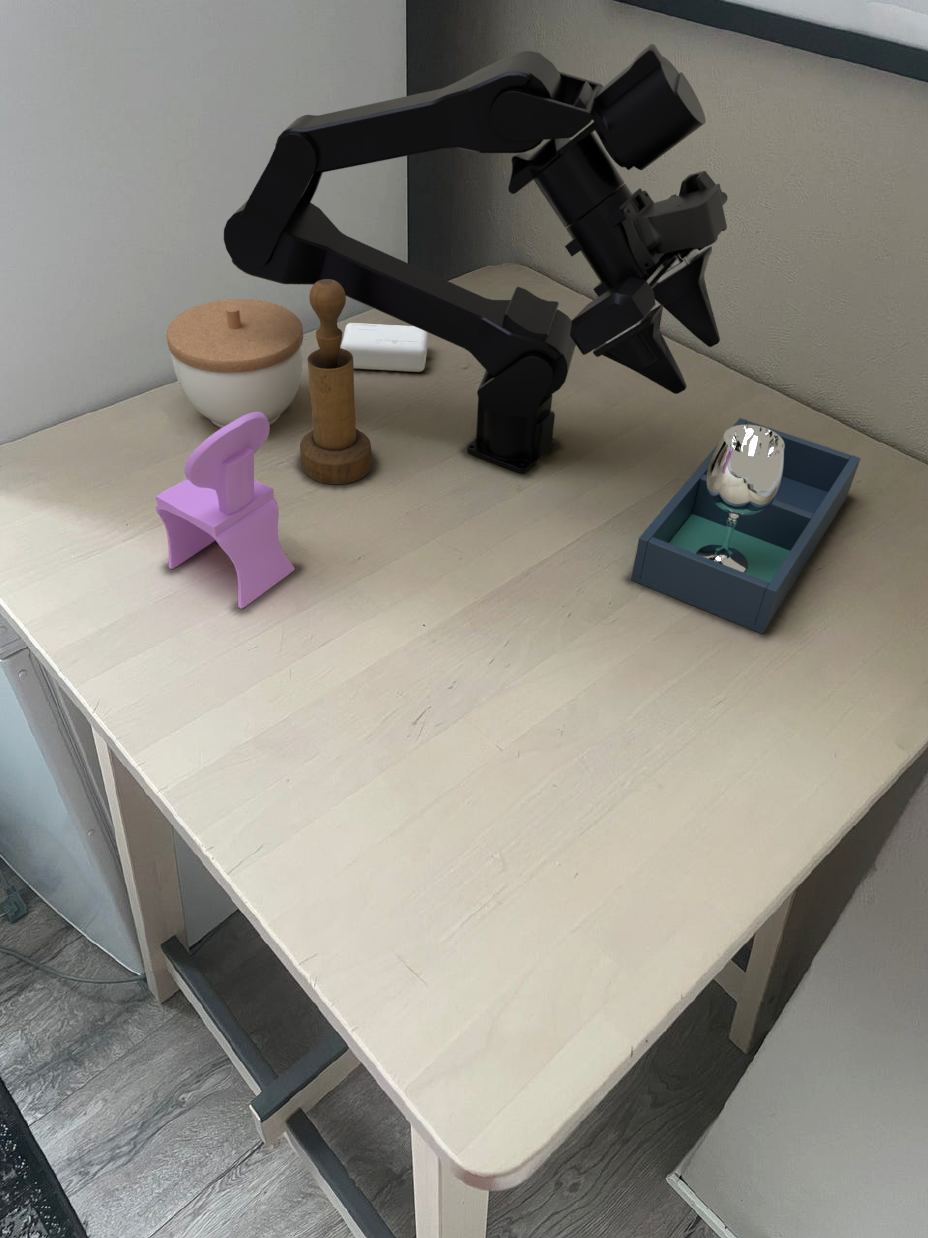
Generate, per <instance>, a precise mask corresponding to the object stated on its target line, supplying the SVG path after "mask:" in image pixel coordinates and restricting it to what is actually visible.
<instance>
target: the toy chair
mask: <svg viewBox="0 0 928 1238" xmlns="http://www.w3.org/2000/svg"><path fill="white" fill-rule="evenodd" d="M270 427H271V425H269V422H268V420H267V418H266V416H265V415H264V414H263V413H261V412H253V413H249V414H246V415H244V416H242V417H240V418H238V419H236V420H235V421H233V422H231V423H230V424H228V425H226V426H224V427H223V428H219V429H218V430H216V431H215V432H213V433H212V434H211V435H210V436H209V437H207V438H206V439H205V440H203V442H201V443H200V444H199V445H198V446H197V447H195V449H194V450H193V451H192V452H191V454H190V455H189V456H188V458H187V460H186V462H185V464H184V475H185V477H186V479H183V480H182V481H180V482H179V483H177V484H174V485H173V486H171V487H169V488H167V489H165V490H163V491H162V492H160V493H158V494H157V495H156V496H155V501H156V505H155V511H156V513H157V514H158V516H159V518H160V519H161V521H162V523H163V525H164V528H165V531H166V536H167V545H168V546H167V548H168V549H167V550H168V551H167V552H168V568H169V569H171V570H173V569H175V568H176V567H178V566H179V565H181V564H182V563H184V562H185V561H187V560H189V559H190V558H192V557H193V556H194V555H196V554H197V553H199V552H200V551H202V550H203V549H205V548H206V547H208V546H210V545H211V544H213V543H214V542H216V543H217V544H218V545H219V547H220V548H221V549H222V550H223V552H224V553H226V555H227V556H228V557H229V559H230V560H231V562H232V563H233V566H234V568H235V571H236V572H235V573H236V575H237V591H238V592H237V593H238V595H237V596H238V597H237V607H238V608H239V609H241V610H243V609H244V608H245V607H247V606H248V605H250V604H251V603H252V602H254V601H255V600H256V599H258V598H259V597H260V596H262V595H263V594H265V593H266V592H267V591H269V590H270V589H271V588H273V587H274V586H276V585H277V584H278V583H279V582H281V581H282V580H284V579H285V578H286V577H288V576H289V575H290V574H291V573H293V572H294V571H295V570H296V568H295V566H294V564H293V563H292V562H291V561H290V559H289V558H288V557H287V556H286V553H285V552H284V550H283V549H282V545H281V542H280V539H279V511H280V510H279V504H278V501H277V500H276V498H275V493H274V488H272V487H271V486H269V485H267V484H264V483H263V482H260V481H258V480H257V479H256V480H255V454H256V453H257V452H258V450H259V449H260V448H261V447H262V446H263V445H264V443H265V442H266V441H267V439H268V438H269V434H270Z"/></svg>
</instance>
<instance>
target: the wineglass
mask: <svg viewBox="0 0 928 1238" xmlns="http://www.w3.org/2000/svg"><path fill="white" fill-rule="evenodd" d="M733 426H734V425H733ZM733 426H731V427H729V428H728V429H726V430H725V432H724V433H723V434H722V436H721V438H720V440H719V441H718V443H719V444H718V443H717V445H718V446H717V445H716V446H717V447H716V446H715V447H716V449H715V451H714V454H713V456H712V458H711V461H710V464H709V467H708V471H707V479H706V485H707V491H708V493H709V496H710V498H711V499H712V501H713V502H714V503H715V504H716V505H717V506H718V507H719V508H721V509H723V510H724V511H726V512H729V513H728V515H727V520H726V521H727V530H726V535H725V539H724V542H723V545H721V544H710V545H706V546H703V547H701V548H700V549H699V550H698V551H697V552H696V554H698V555H700V556H703V557H705V558H708V559H710V560H713V561H715V562H718V563H721V564H723V565H726V566H728V567H731V568H733V569H736V570H738V571H741V572H744V573H745V572H746V570H747V568H748V562H747V559H746V557H745V556H744V555H743V554H742V553H741V552H740V551H738V550H736V549H735V548H732V547H730V546H729V542H730V538H731V535H732V532H733V530H734V528H735V526H736V525H737V524H738V522H739V517H740V515H752V514H756V513H759V512H761V511H763V510H765V509H766V508H767V507H768V506H769V505H771V504H772V502H773V501H774V499H775V498H776V496H777V494H778V492H779V490H780V486H781V483H782V479H783V473H784V457H785V444H784V441H783V439H782V438H781V437H780V436H779V435H778V434H776V433H775V432H773V431H771V430H769V429H767V428H764V427H761V426H756V425H737V426H734V427H733Z"/></svg>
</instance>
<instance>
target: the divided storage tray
mask: <svg viewBox="0 0 928 1238" xmlns="http://www.w3.org/2000/svg"><path fill="white" fill-rule="evenodd" d="M737 425H756V426H761V427H764V428H767V429H769V430H771V431H773V432H775V433H776V434H778V435H779V436H780V437H781V438H782V439H783V441H784V444H785V457H784V473H783V479H782V483H781V486H780V490H779V492H778V494H777V496H776V498H775V499H774V501H773V502H772V504H771V505H769V506H768V507H767V508H766V509H765V510H763V511H761V512H759V513H756V514H752V515H740V517H739V522H738V524H737V525H736V526H735V528H734V530H733V532H732V535H731V538H730V542H729V546H730V547H732V548H735V549H736V550H738V551H740V552H741V553H742V554H743V555H744V556H745V557H746V559H747V562H748V568H747V570H746V572H745V573H744V572H741V571H738V570H736V569H733V568H731V567H728V566H726V565H723V564H721V563H718V562H715V561H713V560H710V559H708V558H705V557H703V556H700V555H698V554H696V552H697V551H698V550H699V549H700V548H701V547H703V546H706V545H710V544H721V545H723V542H724V539H725V535H726V530H727V521H726V520H727V515H728V513H729V512H726V511H724V510H723V509H721V508H719V507H718V506H717V505H716V504H715V503H714V502H713V501H712V499H711V498H710V496H709V493H708V491H707V485H706V479H707V471H708V467H709V464H710V461H711V458H712V456H713V454H714V451H715V449H716V447H717V446H718V444H719V442H718V443H717V445H715V447H714V448H713V449H712V450H711V452H710V453H709V454H708V455H707V456H706V458H705V459H704V460H703V461H702V462H701V464H700V465H699V466H698V467H697V468H696V469H695V471H694V472H693V473H692V475H690V477H689V478H688V479H687V480H686V481H685V483H684V484H683V485H682V486H681V487H680V488H679V490H678V491H677V492H676V493H675V494H674V496H672V498H671V499H670V500H669V502H668V503H667V504H666V505H665V506H664V507H663V509H662V510H661V511H660V512H659V514H658V515H657V516H656V517H655V518H654V519H653V521H652V522H650V524H649V526H648V527H647V528H646V529H645V530H644V531H643V533H642V534H641V535H640V536H639V537H638V542H637V546H636V552H635V557H634V562H633V566H632V572H631V577H630V580H631V581H633V582H635V583H638V584H640V585H643V586H645V587H647V588H650V589H652V590H654V591H657V592H659V593H662V594H664V595H666V596H669V597H670V598H671V597H672V598H674V599H676V600H678V601H681V602H683V603H686V604H688V605H691V606H694V607H696V608H698V609H701V610H702V611H706V612H708V613H710V614H713V615H715V616H717V617H720V618H722V619H725V620H727V621H729V622H732V623H734V624H736V625H739V626H742V627H744V628H747V629H749V630H752V631H753V632H756V633H759V634H761V635H763V634H764V633H765V631H766V630H767V628H768V626H769V624H770V623H771V621H772V620H773V618H774V616H775V615H776V613H777V612H778V610H779V608H780V607H781V605H782V604H783V602H784V600H785V598H787V595H788V594H789V592H790V590H791V589H792V587H793V586H794V584H795V583H796V580H798V577H799V576H800V574H801V573H802V571H803V570H804V568H805V566H806V564H807V563H808V561H809V560H810V558H811V557H812V555H813V553H814V552H815V551H816V548H817V547H818V545H819V543H820V542H821V540H823V539H822V538H823V537H824V535H825V534H826V532H827V531H828V529H829V527H830V526H831V524H832V522H833V521H834V519H835V518H836V516H837V514H838V513H839V511H840V510H841V508H842V506H843V504H844V503H845V502H846V500H847V497H848V495H849V492H850V490H851V487H852V484H853V481H854V478H855V476H856V473H857V470H858V467H859V464H860V462H861V459H862V458H861V457H858V456H855V455H853V454H850V453H846V452H843V451H840V450H837V449H833V448H831V447H828V446H825V445H822V444H819V443H816V442H814V441H810V440H807V439H805V438H801V437H798V436H795V435H793V434H790V433H786V432H783V431H781V430H777V429H774V428H771V427H768V426H765V425H762V424H759V423H756V422H753V421H751V420H747V419H744V418H742V417H739V419H737V421H736V422H735V423H734V424H733V426H732V427H734V426H737Z"/></svg>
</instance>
